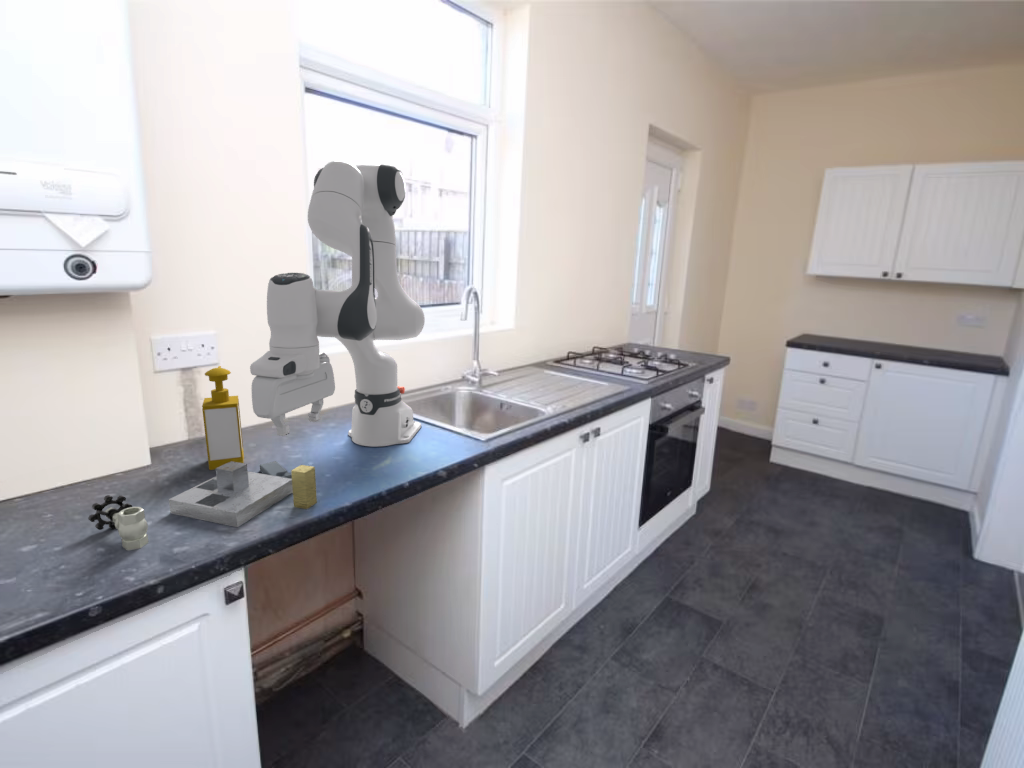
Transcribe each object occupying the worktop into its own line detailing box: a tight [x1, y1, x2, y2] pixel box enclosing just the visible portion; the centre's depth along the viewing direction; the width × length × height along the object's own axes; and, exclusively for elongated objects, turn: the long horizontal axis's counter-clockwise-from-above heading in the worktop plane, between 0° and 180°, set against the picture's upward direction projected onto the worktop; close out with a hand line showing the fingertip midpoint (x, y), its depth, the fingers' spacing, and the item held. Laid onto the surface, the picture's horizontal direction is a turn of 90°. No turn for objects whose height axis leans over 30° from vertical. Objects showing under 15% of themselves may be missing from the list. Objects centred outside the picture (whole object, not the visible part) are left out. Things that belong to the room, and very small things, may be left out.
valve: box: [87, 494, 150, 551], centre depth 94 cm, size 7×7×12 cm
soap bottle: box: [201, 365, 245, 471], centre depth 128 cm, size 7×13×24 cm, turn 25°
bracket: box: [259, 461, 292, 479], centre depth 122 cm, size 4×10×2 cm, turn 42°
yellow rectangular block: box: [290, 464, 318, 510], centre depth 108 cm, size 3×3×8 cm
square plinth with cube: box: [168, 461, 293, 528], centre depth 108 cm, size 16×16×8 cm
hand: (299, 427), depth 105 cm, fingers open, 8 cm apart
